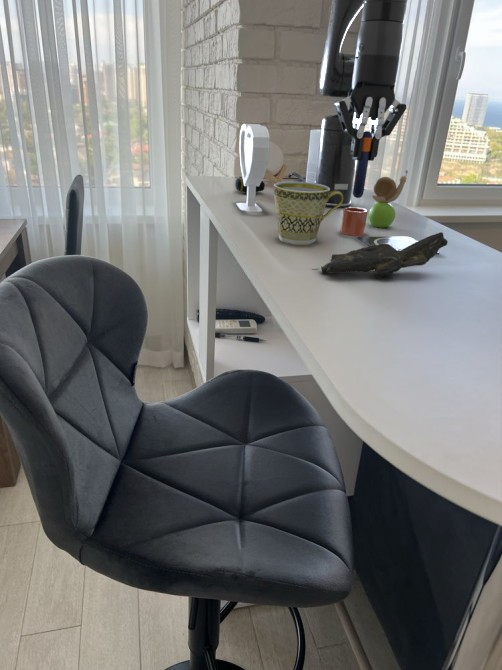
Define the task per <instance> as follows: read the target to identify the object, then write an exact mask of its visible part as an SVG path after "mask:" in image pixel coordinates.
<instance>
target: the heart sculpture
mask: <svg viewBox="0 0 502 670" xmlns="http://www.w3.org/2000/svg"><path fill="white" fill-rule="evenodd" d="M270 139H271V138H270V132H269V130H268V127H266V125H261V124H260V123H257V124H256V123H243V124H242V125H241V126H240V129H239V163H240V172H241V177H243V183H244V186H247V193H246V202H236V203H235V205H236V206H237V207H238V208H239V210H240V211H245V212H246V213H262V212H263V209H262V208H261V207H260V206H259V205H258V204H257V203H256V195H257V194H256V193H257V192H256V186H259V185H260V183H261V181H263V180H264V177H265V176H266V172H267V168H268V165H269V156H270Z"/></svg>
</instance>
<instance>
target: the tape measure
mask: <svg viewBox="0 0 502 670" xmlns="http://www.w3.org/2000/svg"><path fill="white" fill-rule="evenodd" d="M234 186H235V189H236V190H237V191H239V192H241V193H243V194H246V195H247V186H244V183H243V177H242V176H238V177H237V178H236V179H235V184H234ZM265 186H266V184H265V182H264V181H263V180H262V181H261V183H260V185H259V186H256V193H259V192H263V191H264V190H265Z"/></svg>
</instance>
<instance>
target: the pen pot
mask: <svg viewBox="0 0 502 670" xmlns="http://www.w3.org/2000/svg"><path fill="white" fill-rule="evenodd" d="M368 213H369V210H367V209H366V208H363V207H356V206H346V207H343V212H342V219H341V227H340V233H341V234H342V235H344V236H348V237H364V235H365V231H366V224H367V219H368Z"/></svg>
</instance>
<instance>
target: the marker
mask: <svg viewBox="0 0 502 670" xmlns="http://www.w3.org/2000/svg"><path fill="white" fill-rule="evenodd" d="M362 139H363V146H362V154H361V159H360V160H356V166H355V173H354V180H353V188H352V196H353V197H354V198H355V199H360V198H362V197H363V195H364V191H365V186H366V179H367V173H368V165H369V154H370V149H371V143H372V134H371V133H370V130H366V131H365V130H364V133H363V137H362Z"/></svg>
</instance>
